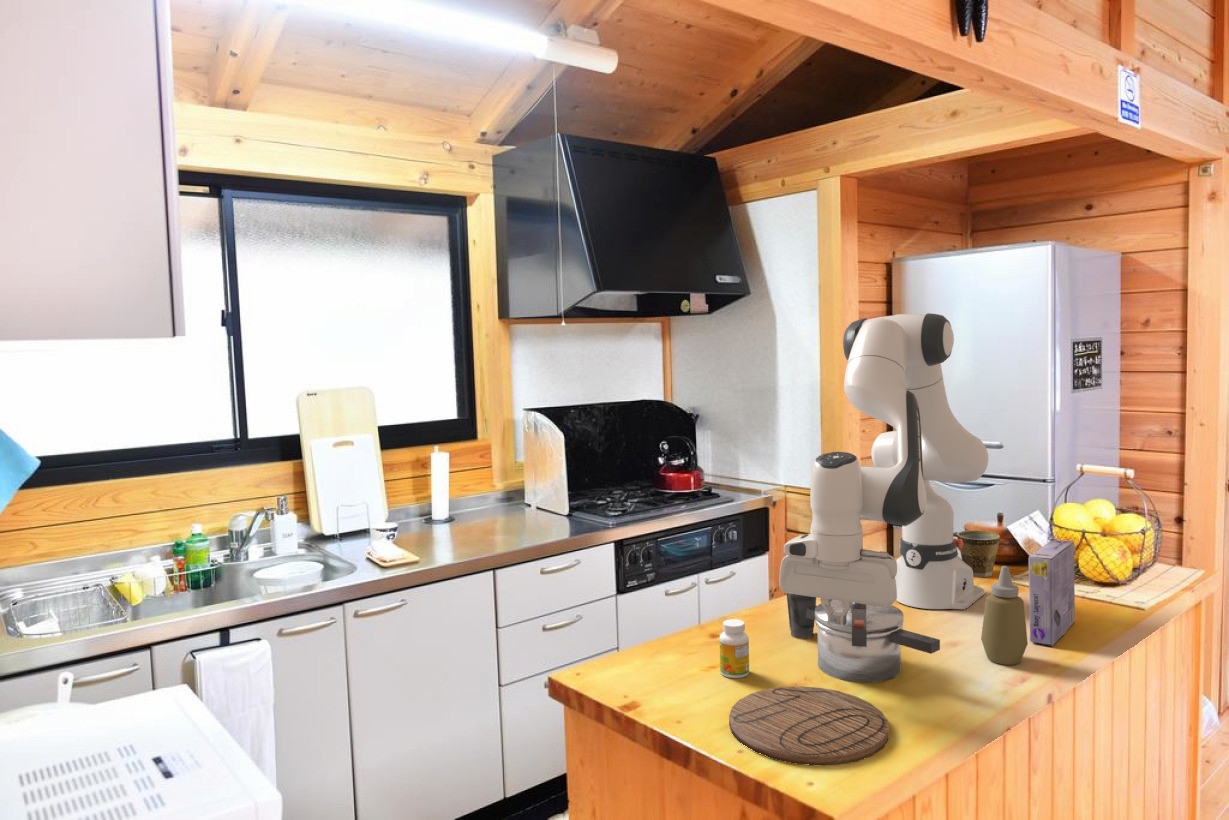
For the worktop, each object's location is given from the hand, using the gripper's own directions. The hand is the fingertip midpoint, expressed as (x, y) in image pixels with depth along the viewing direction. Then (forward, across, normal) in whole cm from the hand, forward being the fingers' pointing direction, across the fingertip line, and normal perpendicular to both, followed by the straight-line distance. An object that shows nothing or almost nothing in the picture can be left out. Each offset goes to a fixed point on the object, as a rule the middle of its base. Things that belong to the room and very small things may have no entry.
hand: (836, 623), depth 157 cm
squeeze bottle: (+12, -23, -28) cm, 38 cm away
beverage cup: (+12, +15, -23) cm, 30 cm away
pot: (+12, -3, -11) cm, 16 cm away
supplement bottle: (+12, +19, +2) cm, 23 cm away
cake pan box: (+12, -29, -48) cm, 57 cm away
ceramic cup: (+12, -7, -85) cm, 86 cm away
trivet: (+12, -1, +17) cm, 21 cm away
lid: (+3, -2, -7) cm, 8 cm away
